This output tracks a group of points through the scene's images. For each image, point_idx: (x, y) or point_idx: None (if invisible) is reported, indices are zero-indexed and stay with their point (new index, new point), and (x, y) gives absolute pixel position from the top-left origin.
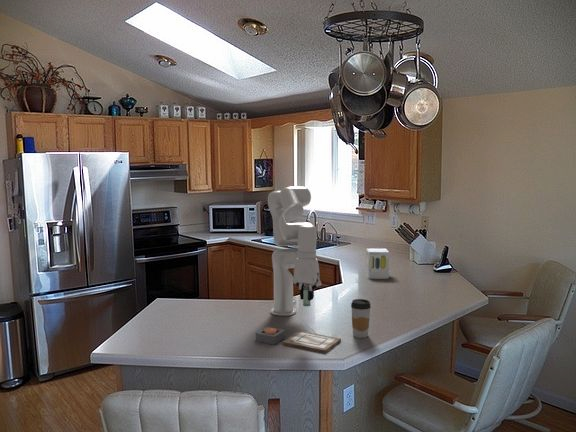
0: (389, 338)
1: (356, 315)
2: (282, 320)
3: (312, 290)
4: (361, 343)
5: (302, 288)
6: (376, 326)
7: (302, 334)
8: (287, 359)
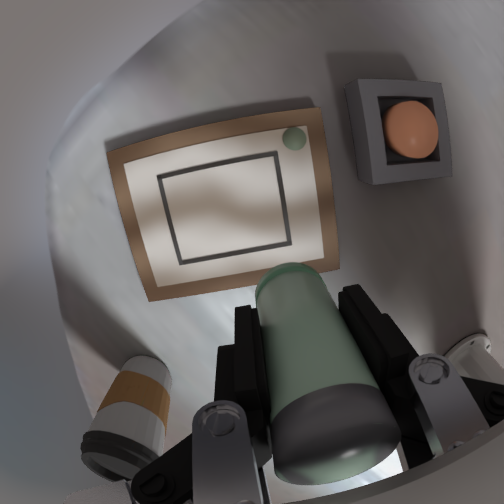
0: (86, 388)
1: (115, 410)
2: (446, 319)
3: (204, 424)
4: (96, 320)
5: (396, 394)
6: (173, 437)
7: (304, 236)
8: (192, 8)
